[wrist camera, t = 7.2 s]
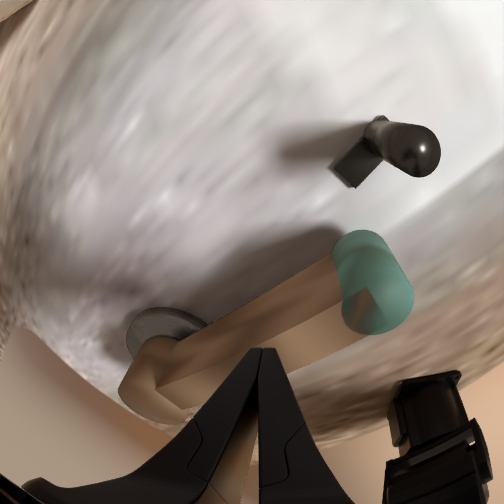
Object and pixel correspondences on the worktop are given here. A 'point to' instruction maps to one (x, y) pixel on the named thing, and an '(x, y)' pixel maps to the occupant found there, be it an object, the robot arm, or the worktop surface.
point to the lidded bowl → (11, 7)
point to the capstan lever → (275, 328)
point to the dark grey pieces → (354, 171)
